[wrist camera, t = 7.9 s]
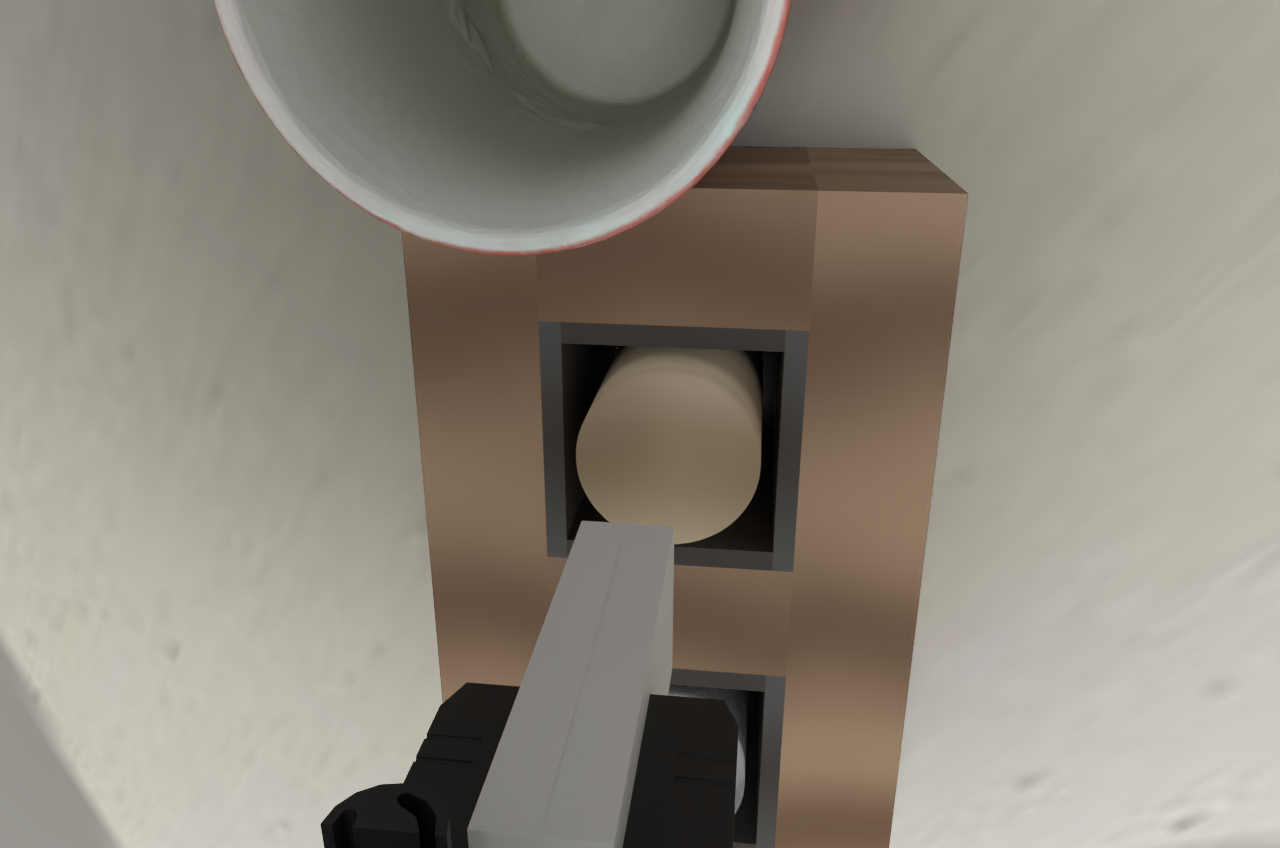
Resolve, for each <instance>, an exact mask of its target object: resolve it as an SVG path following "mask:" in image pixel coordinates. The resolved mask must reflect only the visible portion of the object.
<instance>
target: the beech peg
mask: <svg viewBox="0 0 1280 848" xmlns="http://www.w3.org/2000/svg"><path fill="white" fill-rule="evenodd" d="M763 367H764V356H763V351H746V350H719V349H693V348H667V347H641V346H620V347H619V349H618V351H617V353H616V355H615V357H614V359H613V361H612V363H611V366H610V368H609V370H608V372H607V374H606V376H605V378H604V380H603V382H602V384H601V386H600V388H599V391H598V393H597V395H596V397H595V399H594V401H593V403H592V405H591V407H590V409H589V411H588V413H587V415H586V418H585V420H584V422H583V424H582V426H581V429H580V432H579V435H578V440H577V445H576V465H577V471H578V475H579V479H580V482H581V484H582V487H583V490H584V491H585V493H586V495H587V497H588V499H589V500H590V502H591V503H592V504H593V506H594V507H595V509H596V510H597V511H598V512H599V513H600V514H601V515H602V516H603V517H604V518H605V519H606V520H607V521H609V522H613V523H630V524H647V525H664V526H674V544H683V543H691V542H695V541H699V540H702V539H705V538H708V537H710V536H713V535H715V534H716V533H718V532H720V531H722V530H723V529H725V528H726V527H728V526H729V525H731V524H732V523H733V522H734V521H735V520H736V519H737V518H738V517H739V516H740V515H741V514H742V513H743V511H744V510H745V509H746V508H747V506H748V504H749V503H750V501H751V500H752V498H753V495H754V493H755V491H756V488H757V485H758V481H759V477H760V469H761V441H762V404H763Z"/></svg>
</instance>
